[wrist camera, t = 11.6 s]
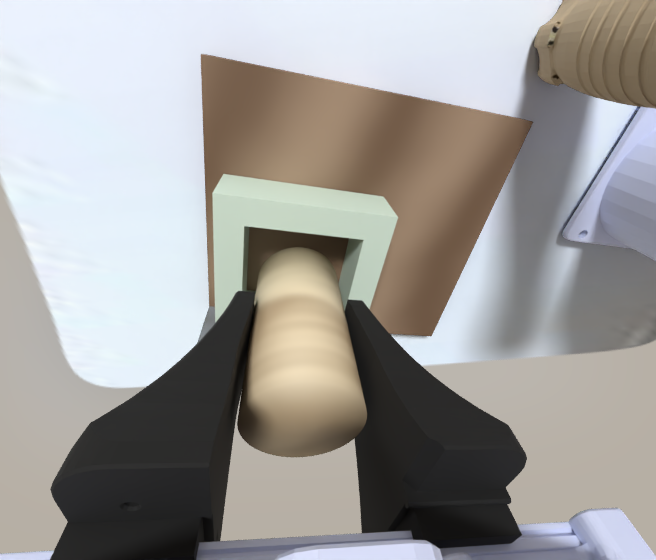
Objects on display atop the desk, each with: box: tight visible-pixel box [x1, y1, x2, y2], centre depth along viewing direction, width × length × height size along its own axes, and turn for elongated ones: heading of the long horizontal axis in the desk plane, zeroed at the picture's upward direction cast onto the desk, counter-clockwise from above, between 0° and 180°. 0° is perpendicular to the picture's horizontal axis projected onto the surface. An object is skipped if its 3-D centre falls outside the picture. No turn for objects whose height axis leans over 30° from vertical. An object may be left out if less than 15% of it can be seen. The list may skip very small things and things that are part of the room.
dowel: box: [237, 247, 367, 457], centre depth 12 cm, size 4×4×7 cm
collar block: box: [212, 174, 398, 323], centre depth 16 cm, size 7×7×2 cm
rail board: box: [198, 54, 533, 342], centre depth 15 cm, size 14×13×5 cm
